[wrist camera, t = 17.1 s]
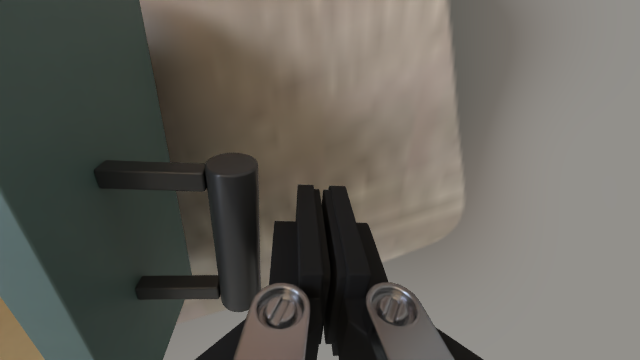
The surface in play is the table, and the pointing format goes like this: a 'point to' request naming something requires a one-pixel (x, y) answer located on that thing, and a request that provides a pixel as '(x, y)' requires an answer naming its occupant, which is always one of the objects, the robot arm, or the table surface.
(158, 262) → the drawer
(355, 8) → the table surface
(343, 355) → the robot arm
